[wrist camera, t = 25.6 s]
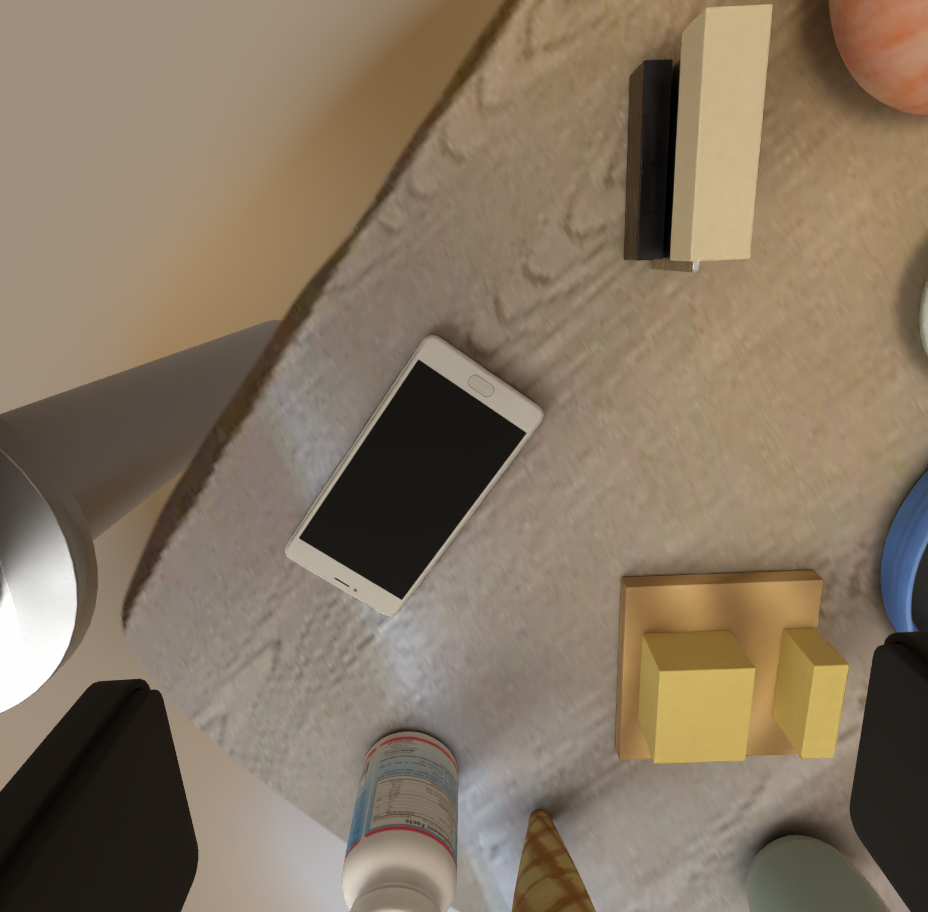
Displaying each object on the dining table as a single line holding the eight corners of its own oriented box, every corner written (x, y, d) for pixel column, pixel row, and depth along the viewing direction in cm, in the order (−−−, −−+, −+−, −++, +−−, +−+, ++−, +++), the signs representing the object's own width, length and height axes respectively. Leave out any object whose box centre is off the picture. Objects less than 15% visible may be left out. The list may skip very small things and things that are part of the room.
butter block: (637, 719, 38) (654, 764, 35) (641, 633, 36) (659, 671, 33) (721, 716, 38) (745, 761, 35) (729, 629, 36) (756, 668, 33)
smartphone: (549, 413, 33) (392, 621, 37) (547, 410, 34) (394, 615, 37) (428, 330, 32) (279, 554, 35) (429, 328, 32) (282, 549, 36)
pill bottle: (410, 817, 42) (392, 1010, 31) (344, 763, 41) (301, 944, 30) (478, 767, 41) (483, 950, 30) (411, 709, 40) (392, 879, 29)
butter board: (615, 746, 40) (619, 760, 39) (621, 576, 37) (626, 587, 36) (789, 740, 40) (799, 754, 39) (813, 569, 37) (824, 579, 35)
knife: (632, 269, 32) (689, 275, 23) (639, 62, 29) (707, -12, 21) (676, 267, 32) (749, 273, 23) (688, 60, 29) (775, -16, 21)
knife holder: (623, 259, 31) (636, 260, 29) (629, 75, 29) (644, 59, 27) (682, 257, 31) (700, 257, 29) (693, 72, 29) (714, 56, 27)
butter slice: (771, 715, 38) (801, 759, 35) (782, 628, 36) (815, 666, 33) (801, 714, 38) (834, 758, 35) (814, 626, 36) (849, 664, 33)
